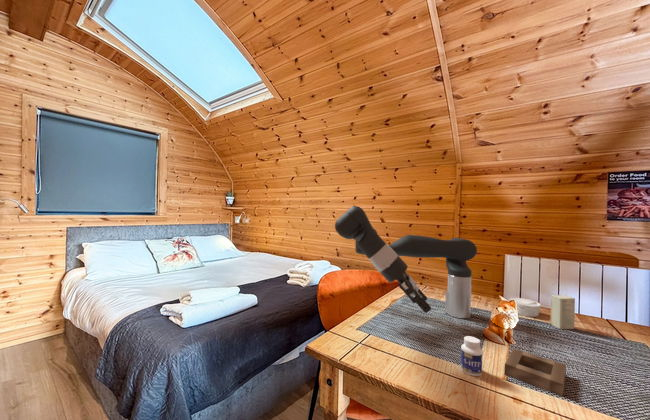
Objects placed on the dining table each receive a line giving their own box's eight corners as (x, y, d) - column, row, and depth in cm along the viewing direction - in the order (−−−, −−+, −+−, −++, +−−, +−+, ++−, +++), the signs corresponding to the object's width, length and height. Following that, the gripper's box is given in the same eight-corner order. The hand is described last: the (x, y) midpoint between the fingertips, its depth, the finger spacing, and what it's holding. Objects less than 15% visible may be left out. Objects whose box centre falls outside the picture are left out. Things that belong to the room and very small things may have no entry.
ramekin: (542, 320, 113) (542, 307, 113) (510, 314, 119) (510, 302, 119) (538, 312, 122) (538, 300, 122) (509, 307, 128) (509, 296, 128)
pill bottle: (461, 374, 73) (462, 341, 73) (459, 363, 78) (460, 333, 78) (483, 378, 72) (484, 345, 72) (479, 368, 76) (480, 336, 77)
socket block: (504, 374, 74) (504, 363, 74) (513, 358, 82) (513, 348, 82) (562, 396, 65) (563, 384, 65) (565, 375, 74) (566, 364, 74)
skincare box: (564, 324, 109) (564, 294, 109) (575, 329, 104) (575, 298, 104) (549, 324, 108) (550, 294, 108) (559, 329, 104) (560, 298, 104)
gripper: (379, 266, 88) (414, 305, 85) (377, 276, 74) (419, 323, 72) (397, 251, 87) (433, 290, 84) (397, 258, 73) (441, 305, 70)
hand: (426, 305), depth 78 cm, fingers open, 8 cm apart
